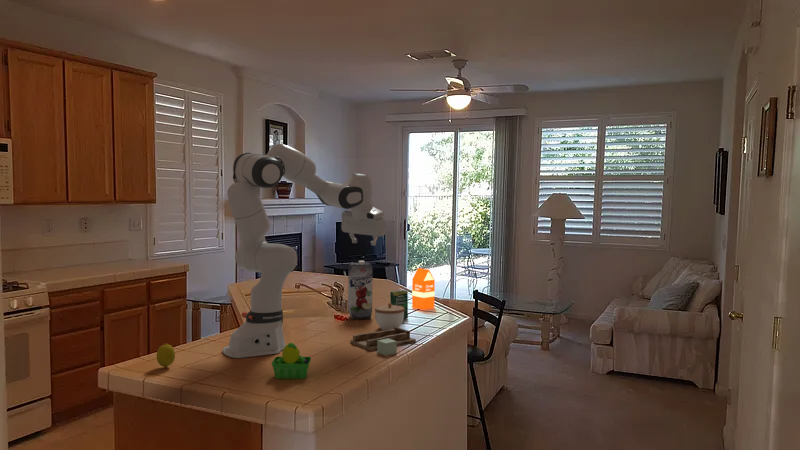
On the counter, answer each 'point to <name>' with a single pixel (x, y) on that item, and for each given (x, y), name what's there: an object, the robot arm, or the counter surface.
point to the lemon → (165, 355)
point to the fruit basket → (291, 363)
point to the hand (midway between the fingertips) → (364, 244)
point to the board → (370, 339)
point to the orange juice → (423, 289)
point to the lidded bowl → (389, 316)
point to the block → (386, 346)
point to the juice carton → (360, 290)
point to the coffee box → (400, 300)
